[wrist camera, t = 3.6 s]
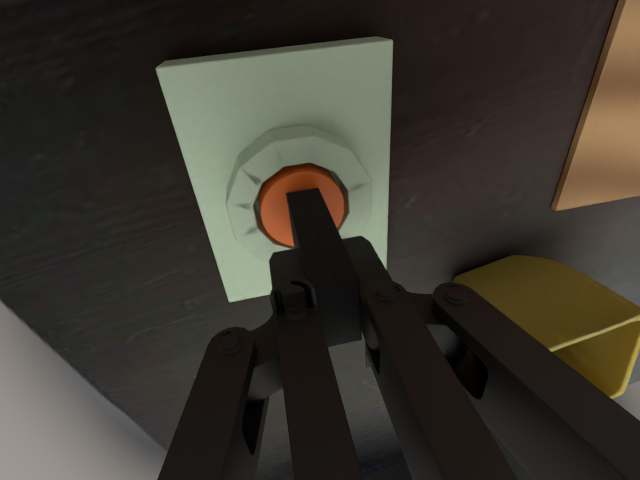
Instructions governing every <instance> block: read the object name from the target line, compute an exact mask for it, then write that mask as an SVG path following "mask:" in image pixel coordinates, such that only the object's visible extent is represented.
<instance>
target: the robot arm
mask: <svg viewBox="0 0 640 480" xmlns="http://www.w3.org/2000/svg"><path fill="white" fill-rule="evenodd" d="M286 197H287V203H288V210H289V216H290V223H291V229H292V236H293V242H294V247H295V248H294V249H289V250H283V251H278V252H273V254H272V256H271V258H270V260H269V267H270V275H271V283H272V290H271V294H270V299H271V304H272V308H273V314H272V316H271V318H270V319H269V320H268V321H267V322H266V323H265V324H263V325H262V326H260V327H258V328H256V329H254V330H252V331H248V330H247V329H245V328H241V327H233V328H227V329H225V330H223V331H221V332H219V333H218V334H217V335H215V336H214V337H213V338H212V340H211V341H210V343H209V344H208V347H207V349H206V352H205V355H204V357H203V360H202V363H201V365H200V368H199V371H198V373H197V376H196V378H195V381H194V384H193V386H192V389H191V392H190V394H189V397H188V400H187V402H186V405H185V408H184V410H183V413H182V416H181V418H180V421H179V424H178V426H177V429H176V432H175V434H174V437H173V440H172V442H171V445H170V448H169V450H168V453H167V456H166V458H165V461H164V464H163V466H162V469H161V472H160V474H159V477H158V479H157V480H255V476H256V471H257V465H258V459H259V453H260V448H261V442H262V436H263V430H264V425H265V419H266V413H267V407H268V402H269V396H270V395H272V394H273V393H275V392H277V391H279V390H280V389H282V388H283V391H284V399H285V407H286V415H287V423H288V431H289V439H290V448H291V456H292V464H293V472H294V480H363V477H362V473H361V470H360V466H359V462H358V459H357V455H356V451H355V447H354V444H353V440H352V436H351V433H350V429H349V425H348V421H347V418H346V414H345V410H344V406H343V403H342V399H341V395H340V392H339V388H338V384H337V380H336V377H335V373H334V369H333V366H332V362H331V358H330V354H329V351H328V347H330V346H334V345H339V344H344V343H348V342H353V341H358V340H362V338H361V330H362V333H363V336H364V338H365V349H366V367H370V364H371V367H372V370H373V373H374V375H375V378H376V381H377V383H378V386H379V389H380V392H381V394H382V397H383V400H384V402H385V405H386V408H387V410H388V413H389V416H390V419H391V421H392V424H393V427H394V429H395V432H396V435H397V438H398V440H399V443H400V446H401V448H402V451H403V454H404V457H405V459H406V462H407V465H408V467H409V470H410V473H411V475H412V478H413V480H517V478H516V476H515V475H514V473H513V471H512V469H511V468H510V466H509V464H508V463H507V461H506V459H505V458H504V456H503V454H502V452H501V451H500V449H499V447H498V446H497V444H496V442H495V441H494V439H493V437H492V436H491V434H490V432H489V430H488V429H487V427H486V425H487V426H488V427H489V428H490V429H491V430H492V431H493V432H494V434H495V435H496V436H497V437H498V438H499V439H500V440H501V442H502V443H503V444H504V445H505V446H506V447H507V448H508V450H509V451H510V452H511V453H512V454H513V455H514V456H515V457H516V459H517V460H518V461H519V462H520V463H521V464H522V465H523V467H525V469H526V470H527V471H528V472H529V473H530V475H531V476H532V477H533V478H534V479H535V480H640V421H639V420H638V419H636V418H635V417H634V416H633V415H631V414H630V413H629V412H628V411H626V410H625V409H624V408H622V407H621V406H620V405H619V404H617V403H616V402H615V401H614V400H612V399H611V398H610V397H609V396H607V395H606V394H605V393H603V392H602V391H601V390H600V389H598V388H597V387H596V386H595V385H593V384H592V383H591V382H590V381H588V380H587V379H586V378H584V377H583V376H582V375H581V374H579V373H578V372H577V371H576V370H574V369H573V368H572V367H570V366H569V365H568V364H567V363H565V362H564V361H563V360H562V359H560V358H559V357H558V356H557V355H555V354H554V353H553V352H551V351H550V350H549V349H548V348H546V347H545V346H544V345H543V344H541V343H540V342H539V341H537V340H536V339H535V338H534V337H532V336H531V335H530V334H529V333H527V332H526V331H525V330H524V329H522V328H521V327H520V326H518V325H517V324H516V323H515V322H513V321H512V320H511V319H510V318H508V317H507V316H506V315H504V314H503V313H502V312H501V311H499V310H498V309H497V308H496V307H494V306H493V305H492V304H491V303H489V302H488V301H487V300H485V299H484V298H483V297H482V296H480V295H479V294H478V293H477V292H475V291H474V290H473V289H471V288H469V287H468V286H466V285H463V284H459V283H444V284H441V285H439V286H438V287H436V288H435V290H434V292H433V294H416V293H410V292H407V291H406V290H405V289H404V288H403V287H402V286H401V285H399V284H398V283H396V282H393V281H392V279H391V277H390V276H389V274H388V272H387V270H386V269H385V267H384V265H383V263H382V262H381V260H380V258H379V256H378V254H377V253H376V251H375V249H374V247H373V246H372V244H371V242H370V241H369V240H367V239H366V238H364V237H363V236H356V237H350V238H345V239H342V238H341V236H340V234H339V232H338V229H337V227H336V225H335V223H334V221H333V218H332V216H331V214H330V212H329V210H328V207H327V205H326V203H325V201H324V198H323V196H322V194H321V192H320V190H319V188H314V189H308V190H302V191H296V192H290V193H286ZM483 421H484V422H485V423H486V425H485V424H484V422H483Z"/></svg>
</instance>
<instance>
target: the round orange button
mask: <svg viewBox="0 0 640 480" xmlns="http://www.w3.org/2000/svg"><path fill="white" fill-rule="evenodd" d="M314 188H319V190H320V192H321V194H322V196H323V198H324V201H325V203H326V205H327V207H328V210H329V212H330V214H331V216H332V218H333V221H334V223H335V225H336V227H338V226H339V224H340V222H341V220H342V217H343V214H344V199H343V195H342V193H341V191H340V189H339V187H338V185H337V183H336V182H335V180H334V178H333V176H332V175H331V173H330V172H329V171H328V170H327V169H326V168H323V167H321V166H318V165H315V164H313V163H304V164H297V165H291V166H284V167H283V168H281V169H280V170H279V171H277V172H276V173H275V174H274V175H272V176H271V177H270V178H268V179H267V180H266V181H264V182H263V183H262V185H261V188H260V190H259V204H260V213H261V219H262V223H263V225H264V227H265V229H266V231H267V232H268V233H269V234H270V235H271V236H272V237H273V238H274V239H276V240H277V241H279V242H281V243H283V244H286V245H289V246H294V242H293V236H292V229H291V223H290V216H289V210H288V203H287V197H286V193H290V192H296V191H302V190H308V189H314Z"/></svg>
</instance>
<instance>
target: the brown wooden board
mask: <svg viewBox="0 0 640 480" xmlns="http://www.w3.org/2000/svg"><path fill="white" fill-rule="evenodd" d="M634 196H640V0H618V3H617V6H616V9H615V12H614V16H613V19H612V22H611V25H610V28H609V31H608V34H607V37H606V40H605V43H604V46H603V49H602V52H601V55H600V58H599V62H598V65H597V68H596V71H595V74H594V77H593V80H592V83H591V86H590V89H589V92H588V95H587V98H586V101H585V104H584V108H583V111H582V114H581V117H580V120H579V123H578V126H577V129H576V132H575V135H574V138H573V141H572V144H571V147H570V151H569V154H568V157H567V160H566V163H565V166H564V169H563V172H562V175H561V178H560V181H559V184H558V187H557V190H556V193H555V197H554V200H553V203H552V206H551V209H553V210H554V211H559V210H565V209H570V208H575V207H581V206H586V205H591V204H597V203H602V202H608V201H613V200H618V199H624V198H629V197H634Z"/></svg>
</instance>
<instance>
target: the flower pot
mask: <svg viewBox="0 0 640 480" xmlns="http://www.w3.org/2000/svg"><path fill="white" fill-rule="evenodd" d="M453 283H459V284H463V285H466V286H468V287H469V288H471V289H473V290H474V291H475V292H477V293H478V294H479V295H480V296H482V297H483V298H484V299H485V300H487V301H488V302H489V303H491V304H492V305H493V306H494V307H496V308H497V309H498V310H499V311H501V312H502V313H503V314H504V315H506V316H507V317H508V318H510V319H511V320H512V321H513V322H515V323H516V324H517V325H518V326H520V327H521V328H522V329H524V330H525V331H526V332H527V333H529V334H530V335H531V336H532V337H534V338H535V339H536V340H537V341H539V342H540V343H541V344H543V345H544V346H545V347H546V348H548V349H549V350H550V351H551V352H553V353H554V354H555V355H557V356H558V357H559V358H560V359H562V360H563V361H564V362H565V363H567V364H568V365H569V366H570V367H572V368H573V369H574V370H576V371H577V372H578V373H579V374H581V375H582V376H583V377H584V378H586V379H587V380H588V381H590V382H591V383H592V384H593V385H595V386H596V387H597V388H598V389H600V390H601V391H602V392H603V393H605V394H606V395H607V396H609V397H610V398H611V399H612V398H615V397H617V396H619V395H622V394H623V393H624V391H625V389H626V387H627V384H628V382H629V379H630V376H631V373H632V370H633V367H634V364H635V361H636V358H637V356H638V353H639V350H640V307H639V306H637V305H635V304H634V303H632V302H631V301H629V300H627V299H626V298H624V297H622V296H621V295H619V294H617V293H616V292H614V291H612V290H611V289H609V288H607V287H605V286H604V285H602V284H600V283H599V282H597V281H595V280H594V279H592V278H590V277H589V276H587V275H585V274H584V273H582V272H580V271H578V270H576V269H574V268H572V267H570V266H568V265H565V264H563V263H560V262H557V261H554V260H550V259H546V258H541V257H535V256H524V255H511V256H508V257H505V258H503V259H500V260H498V261H495V262H492V263H490V264H487V265H484V266H482V267H479V268H476V269H473V270H471V271H468V272H465V273H462V274H460V275H458V276H456V277H455V278H454V280H453Z"/></svg>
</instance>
